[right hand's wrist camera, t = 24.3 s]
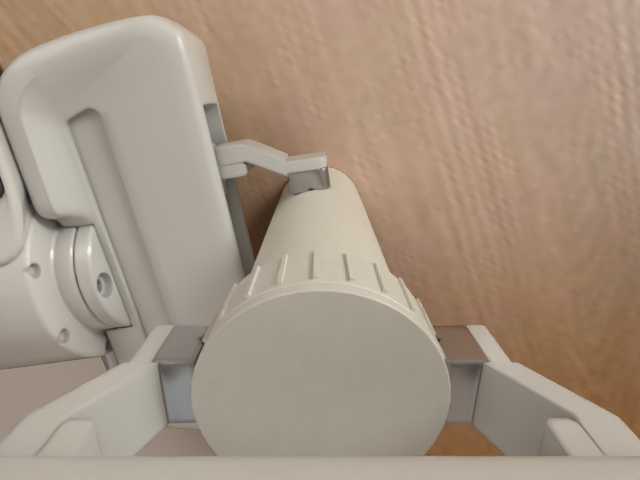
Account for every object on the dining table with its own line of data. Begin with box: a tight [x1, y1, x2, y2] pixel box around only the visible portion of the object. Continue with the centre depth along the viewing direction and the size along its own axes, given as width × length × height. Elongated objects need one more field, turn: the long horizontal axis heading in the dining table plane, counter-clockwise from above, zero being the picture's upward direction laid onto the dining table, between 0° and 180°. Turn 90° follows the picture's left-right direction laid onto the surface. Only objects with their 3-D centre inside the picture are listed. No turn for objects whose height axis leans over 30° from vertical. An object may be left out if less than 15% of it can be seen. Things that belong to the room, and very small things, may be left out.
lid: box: [191, 249, 451, 456], centre depth 9 cm, size 6×6×2 cm
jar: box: [251, 167, 389, 273], centre depth 17 cm, size 5×5×15 cm
